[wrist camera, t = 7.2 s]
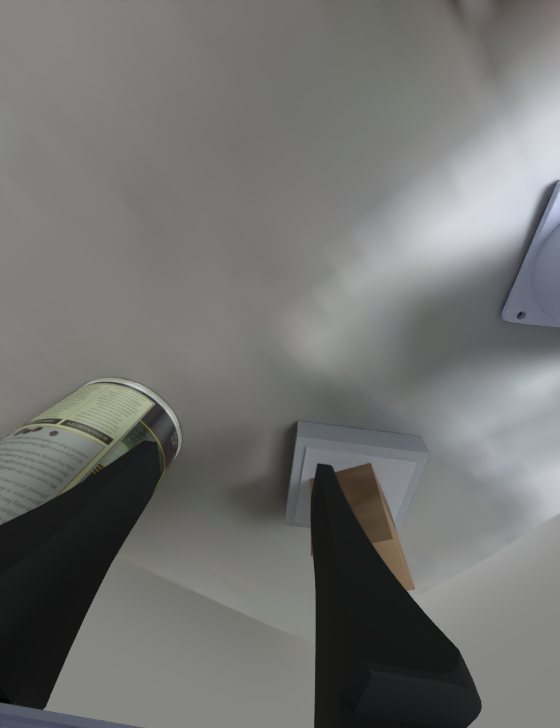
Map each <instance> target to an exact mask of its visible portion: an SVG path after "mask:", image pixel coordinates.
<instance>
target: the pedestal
mask: <svg viewBox="0 0 560 728" xmlns="http://www.w3.org/2000/svg"><path fill="white" fill-rule="evenodd" d="M429 456H430V452H429V450H428V448H427V447H426V445H425V443H424V442H423V440H422V438H421V436H414V435H406V434H398V433H391V432H383V431H375V430H367V429H359V428H351V427H343V426H335V425H327V424H319V423H311V422H303V421H298V423H297V430H296V437H295V444H294V451H293V458H292V465H291V472H290V479H289V487H288V494H287V501H286V510H285V523H284V524H285V525H292V526H299V527H306V528H311V522H310V479H311V478H315V472H316V467H317V463H320V464H328V465H332V467H333V468H334V471H335V472H337V471H341V470H345V469H348V468H352V467H356V466H360V465H363V464H367V463H371V465H372V467H373V469H374V472H375V474H376V476H377V479H378V481H379V484H380V486H381V488H382V491H383V493H384V495H385V498H386V500H387V503H388V505H389V508H390V511H391V514H392V517H393V520H394V524H395V527H396V530H397V533H399V530H400V528H401V525H402V523H403V520H404V518H405V515H406V513H407V510H408V508H409V505H410V503H411V500H412V498H413V495H414V493H415V491H416V488H417V486H418V483H419V481H420V478H421V476H422V473H423V471H424V468H425V466H426V463H427V461H428V458H429Z"/></svg>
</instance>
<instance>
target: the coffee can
mask: <svg viewBox="0 0 560 728" xmlns="http://www.w3.org/2000/svg"><path fill="white" fill-rule="evenodd" d="M144 440H146V441H154V442H157V444H158V453H159V462H160V471H161V477H160V480H159V482H158V484H157V486H156V488H157V487H158V485H159V483H160V481H161V480H162V478H163V477H164V475H165V473H166V472H167V470H168V468H169V467H170V465H171V463H172V462H173V461H174V460H175V458H176V457H177V455H178V453H179V451H180V448H181V444H182V432H181V428H180V424H179V422H178V419H177V417H176V415H175V414H174V412H173V411H172V409H171V408H170V407H169V405H168V404H167V403H166V402H165V401H164V400H163V399H162V398H161V397H160V396H158V395H157V394H156V393H155V392H153V391H151V390H150V389H148V388H146V387H145V386H143V385H141V384H138V383H135V382H133V381H130V380H126V379H121V378H100V379H96V380H93V381H90V382H88V383H86V384H84V385H83V386H81V387H80V388H79V389H78V390H77V391H75V392H74V393H72V394H71V395H69V396H68V397H66V398H65V399H63V400H62V401H60V402H59V403H57V404H56V405H54V406H52V407H51V408H49V409H48V410H46V411H45V412H43V413H41V414H40V415H38V416H37V417H35V418H34V419H32V420H31V421H29V422H28V423H26V424H25V425H23V426H21V427H20V428H18V429H17V430H15V431H14V432H12V433H11V434H9V435H8V436H6V437H5V438H3V439H1V440H0V525H1V524H3V523H5V522H7V521H9V520H12V519H14V518H16V517H18V516H20V515H22V514H24V513H26V512H28V511H30V510H32V509H34V508H36V507H38V506H40V505H42V504H44V503H46V502H48V501H50V500H51V499H53V498H55V497H57V496H59V495H61V494H62V493H64V492H66V491H68V490H69V489H71V488H73V487H74V486H76V485H77V484H79V483H81V482H82V481H84V480H85V479H87V478H89V477H90V476H92V475H93V474H95V473H97V472H98V471H100V470H101V469H103V468H104V467H106V466H107V465H109V464H110V463H112V462H113V461H114V460H116V459H117V458H119V457H120V456H122V455H123V454H125V453H126V452H128V451H129V450H130V449H132V448H133V447H135V446H136V445H138V444H139V443H141V442H142V441H144ZM156 488H155V490H156ZM125 540H126V539H125ZM122 545H123V544H122ZM121 547H122V546H121ZM121 547H120V548H121ZM119 550H120V549H119ZM117 553H118V552H117ZM116 555H117V554H116ZM113 560H114V559H113ZM112 562H113V561H112Z"/></svg>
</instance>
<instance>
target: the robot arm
mask: <svg viewBox="0 0 560 728" xmlns="http://www.w3.org/2000/svg"><path fill="white" fill-rule="evenodd" d="M520 312H522V314H521V316H520V317H518V318H517V315H518V313H520ZM501 317H502V319H503V320H505V321H508V322H513V323H522V324H531V325H540V326H550V327H559V328H560V180H559V181H558V183H557V185H556V186H555V189H554V191H553V193H552V196H551V198H550V201H549V203H548V205H547V208H546V210H545V212H544V215H543V217H542V219H541V222H540V224H539V226H538V229H537V231H536V233H535V236H534V238H533V240H532V243H531V245H530V247H529V250H528V252H527V255H526V257H525V259H524V262H523V264H522V266H521V269H520V271H519V273H518V276H517V278H516V280H515V283H514V285H513V287H512V290H511V292H510V294H509V297H508V299H507V301H506V304H505V306H504V309H503V311H502V314H501ZM160 477H161V471H160V462H159V453H158V444H157V442H154V441H146V440H144V441H142V442H141V443H139V444H138V445H136V446H135V447H133V448H132V449H130V450H129V451H128V452H126V453H125V454H123V455H122V456H120V457H119V458H117V459H116V460H114V461H113V462H112V463H110V464H109V465H107V466H106V467H104V468H103V469H101V470H100V471H98V472H97V473H95V474H93V475H92V476H90V477H89V478H87V479H85V480H84V481H82V482H81V483H79V484H77V485H76V486H74V487H73V488H71V489H69V490H68V491H66V492H64V493H62V494H61V495H59V496H57V497H55V498H53V499H51V500H50V501H48V502H46V503H44V504H42V505H40V506H38V507H36V508H34V509H32V510H30V511H28V512H26V513H24V514H22V515H20V516H18V517H16V518H14V519H12V520H9V521H7V522H5V523H3V524H1V525H0V728H143V727H137V726H131V725H125V724H119V723H114V722H108V721H103V720H97V719H91V718H85V717H79V716H74V715H68V714H62V713H56V712H51V711H45V710H43V709H44V708H45V707H46V705H47V702H48V700H49V698H50V695H51V692H52V690H53V688H54V686H55V683H56V681H57V679H58V676H59V674H60V672H61V669H62V667H63V664H64V662H65V660H66V658H67V655H68V653H69V651H70V648H71V646H72V644H73V642H74V639H75V637H76V635H77V633H78V631H79V629H80V626H81V624H82V622H83V620H84V618H85V616H86V613H87V612H88V609H89V607H90V605H91V603H92V601H93V599H94V597H95V595H96V593H97V591H98V589H99V587H100V585H101V583H102V581H103V579H104V577H105V575H106V573H107V571H108V569H109V567H110V565H111V563H112V561H113V559H114V558H115V556H116V554H117V552H118V551H119V549H120V547H121V546H122V544H123V543H124V541H125V539H126V538H127V536H128V535H129V533H130V531H131V530H132V528H133V526H134V525H135V523H136V522H137V520H138V518H139V517H140V515H141V514H142V512H143V510H144V509H145V507H146V505H147V504H148V502H149V500H150V499H151V497H152V495H153V493H154V491H155V488H156V486H157V484H158V482H159V480H160ZM310 522H311V535H312V547H313V560H314V572H315V589H316V655H315V657H316V658H315V716H314V728H467V727H468V726H469V725H470V724H471V723H472V722H473V721H474V720H475V719H476V718H477V716H478V715H479V713H480V711H481V708H482V706H481V700H480V697H479V695H478V692H477V689H476V687H475V684H474V681H473V679H472V677H471V675H470V672H469V670H468V668H467V666H466V664H465V662H464V659H463V657H462V655H461V653H460V651H459V650H458V648H457V647H456V646H455V645H454V644H453V643H452V642H451V641H450V640H449V639H448V638H447V637H446V636H445V635H444V633H443V632H442V631H441V630H440V629H439V628H438V627H437V626H436V625H435V624H434V623H433V622H432V620H431V619H430V618H429V617H428V616H427V615H426V614H425V613H424V611H423V610H422V609H421V608H420V607H419V605H418V604H417V603H416V602H415V601H414V600H413V598H412V597H411V596H410V595H409V593H408V592H407V591H406V589H405V588H404V587H403V586H402V584H401V583H400V582H399V581H398V579H397V578H396V577H395V575H394V574H393V573H392V572H391V570H390V569H389V567H388V566H387V565H386V563H385V562H384V560H383V559H382V558H381V556H380V555H379V553H378V552H377V550H376V549H375V547H374V546H373V544H372V543H371V541H370V540H369V538H368V536H367V535H366V533H365V531H364V530H363V528H362V526H361V525H360V523H359V521H358V519H357V518H356V516H355V514H354V512H353V510H352V508H351V506H350V504H349V502H348V500H347V498H346V496H345V494H344V492H343V490H342V488H341V486H340V483H339V481H338V479H337V476H336V474H335V471H334V468H333V467H332V465H328V464H320V463H317V467H316V472H315V478H314V483H313V488H312V493H311V514H310Z"/></svg>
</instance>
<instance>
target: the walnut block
mask: <svg viewBox="0 0 560 728" xmlns="http://www.w3.org/2000/svg"><path fill="white" fill-rule="evenodd" d="M335 474H336V476H337V479H338V481H339V483H340V486H341V488H342V490H343V492H344V494H345V496H346V498H347V500H348V502H349V504H350V506H351V508H352V510H353V512H354V514H355V516H356V518H357V519H358V521H359V523H360V525H361V526H362V528H363V530H364V531H365V533H366V535H367V536H368V538H369V540H370V541H371V543H372V544H373V546H374V547H375V549H376V550H377V552H378V553H379V555H380V556H381V558H382V559H383V560H384V562H385V563H386V565H387V566H388V567H389V569H390V570H391V572H392V573H393V574H394V575H395V577H396V578H397V579H398V581H399V582H400V583H401V584H402V586H403V587H404V588H405V589H406V591H407V590H414V589H415V587H414V584H413V581H412V578H411V575H410V571H409V568H408V565H407V562H406V559H405V555H404V552H403V549H402V546H401V543H400V540H399V536H398V533H397V530H396V527H395V524H394V520H393V517H392V514H391V511H390V508H389V505H388V503H387V500H386V498H385V495H384V493H383V491H382V488H381V486H380V484H379V481H378V479H377V476H376V474H375V472H374V469H373V467H372V465H371V463H367V464H363V465H360V466H356V467H352V468H348V469H345V470H341V471H337V472H335ZM313 483H314V478H311V479H310V514H311V493H312V488H313ZM311 556H312V557H313V547H312V535H311Z"/></svg>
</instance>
